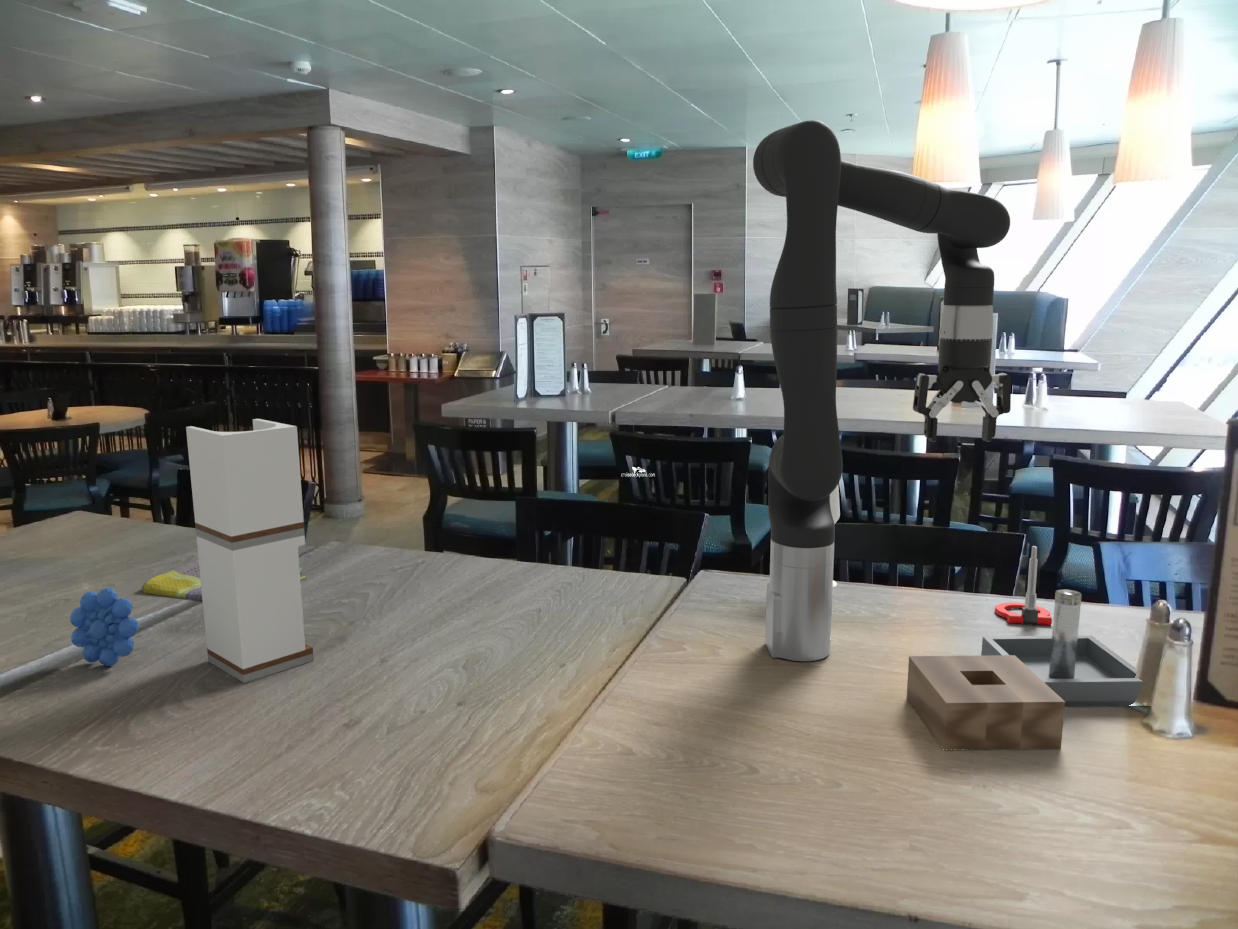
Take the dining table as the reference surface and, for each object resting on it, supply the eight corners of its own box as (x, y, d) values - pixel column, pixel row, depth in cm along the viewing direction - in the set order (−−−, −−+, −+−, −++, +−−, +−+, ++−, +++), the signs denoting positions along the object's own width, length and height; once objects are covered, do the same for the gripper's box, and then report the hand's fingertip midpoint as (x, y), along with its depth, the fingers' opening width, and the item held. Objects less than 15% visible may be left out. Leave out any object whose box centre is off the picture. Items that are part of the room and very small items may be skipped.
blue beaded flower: (163, 658, 141) (155, 581, 138) (128, 676, 134) (119, 595, 132) (99, 650, 144) (90, 575, 141) (62, 668, 137) (52, 589, 135)
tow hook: (989, 607, 161) (1002, 624, 152) (994, 534, 160) (1008, 546, 151) (1041, 610, 160) (1057, 627, 151) (1047, 536, 158) (1064, 548, 149)
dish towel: (244, 609, 163) (243, 594, 162) (135, 595, 171) (134, 580, 170) (309, 579, 179) (308, 565, 178) (207, 567, 187) (205, 554, 186)
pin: (1055, 681, 129) (1062, 597, 127) (1044, 671, 132) (1051, 589, 130) (1078, 680, 129) (1086, 596, 127) (1067, 671, 132) (1074, 589, 130)
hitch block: (943, 750, 112) (946, 703, 111) (906, 698, 126) (908, 656, 124) (1060, 749, 112) (1065, 701, 111) (1011, 697, 126) (1014, 655, 124)
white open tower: (313, 660, 139) (296, 426, 133) (244, 683, 132) (222, 435, 125) (276, 641, 147) (258, 418, 140) (208, 661, 139) (185, 426, 133)
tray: (1028, 707, 123) (1030, 682, 122) (981, 659, 138) (982, 636, 138) (1150, 706, 123) (1153, 681, 122) (1089, 658, 139) (1091, 635, 138)
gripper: (927, 337, 140) (921, 445, 143) (1023, 336, 140) (1015, 444, 143) (911, 334, 147) (905, 437, 150) (1002, 333, 147) (995, 436, 150)
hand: (959, 440), depth 146 cm, fingers open, 8 cm apart
